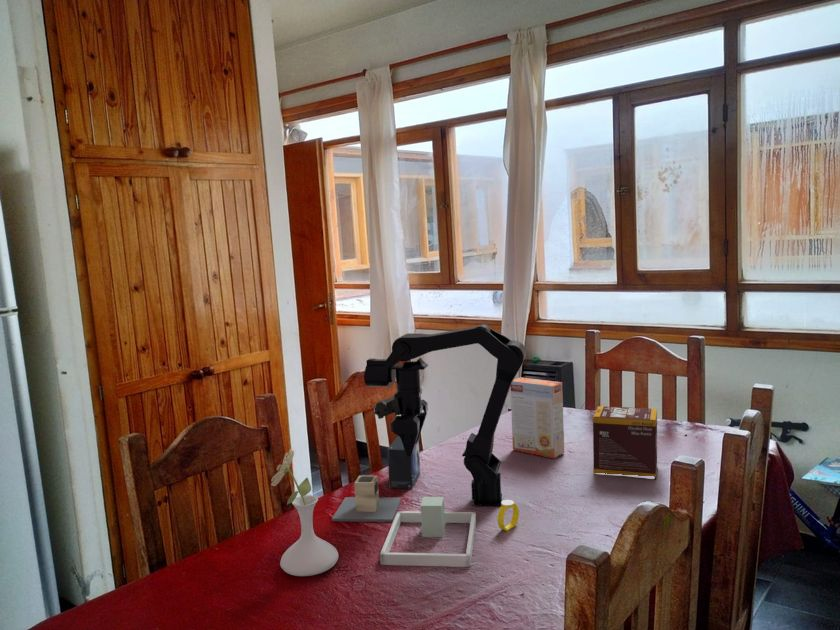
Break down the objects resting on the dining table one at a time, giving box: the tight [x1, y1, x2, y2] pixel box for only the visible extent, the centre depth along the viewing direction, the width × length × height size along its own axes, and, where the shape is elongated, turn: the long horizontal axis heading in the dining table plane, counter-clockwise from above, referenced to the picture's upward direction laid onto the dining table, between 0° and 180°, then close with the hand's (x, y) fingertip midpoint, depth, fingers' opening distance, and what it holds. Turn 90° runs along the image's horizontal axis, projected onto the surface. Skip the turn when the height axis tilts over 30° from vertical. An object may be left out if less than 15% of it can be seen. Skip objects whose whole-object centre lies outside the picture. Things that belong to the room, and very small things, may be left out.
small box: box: [387, 436, 421, 490], centre depth 169 cm, size 11×6×10 cm, turn 168°
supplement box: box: [592, 405, 658, 478], centre depth 168 cm, size 10×15×16 cm
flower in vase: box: [270, 448, 339, 577], centre depth 125 cm, size 13×11×25 cm
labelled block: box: [354, 475, 380, 512], centre depth 152 cm, size 4×5×7 cm
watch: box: [497, 499, 520, 532], centre depth 139 cm, size 6×3×6 cm, turn 137°
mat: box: [331, 496, 402, 523], centre depth 153 cm, size 14×12×1 cm
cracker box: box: [510, 376, 565, 459], centre depth 184 cm, size 14×6×21 cm, turn 47°
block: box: [420, 496, 446, 538], centre depth 139 cm, size 4×4×7 cm
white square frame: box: [379, 510, 477, 568], centre depth 135 cm, size 18×20×2 cm
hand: (412, 449), depth 157 cm, fingers open, 9 cm apart
